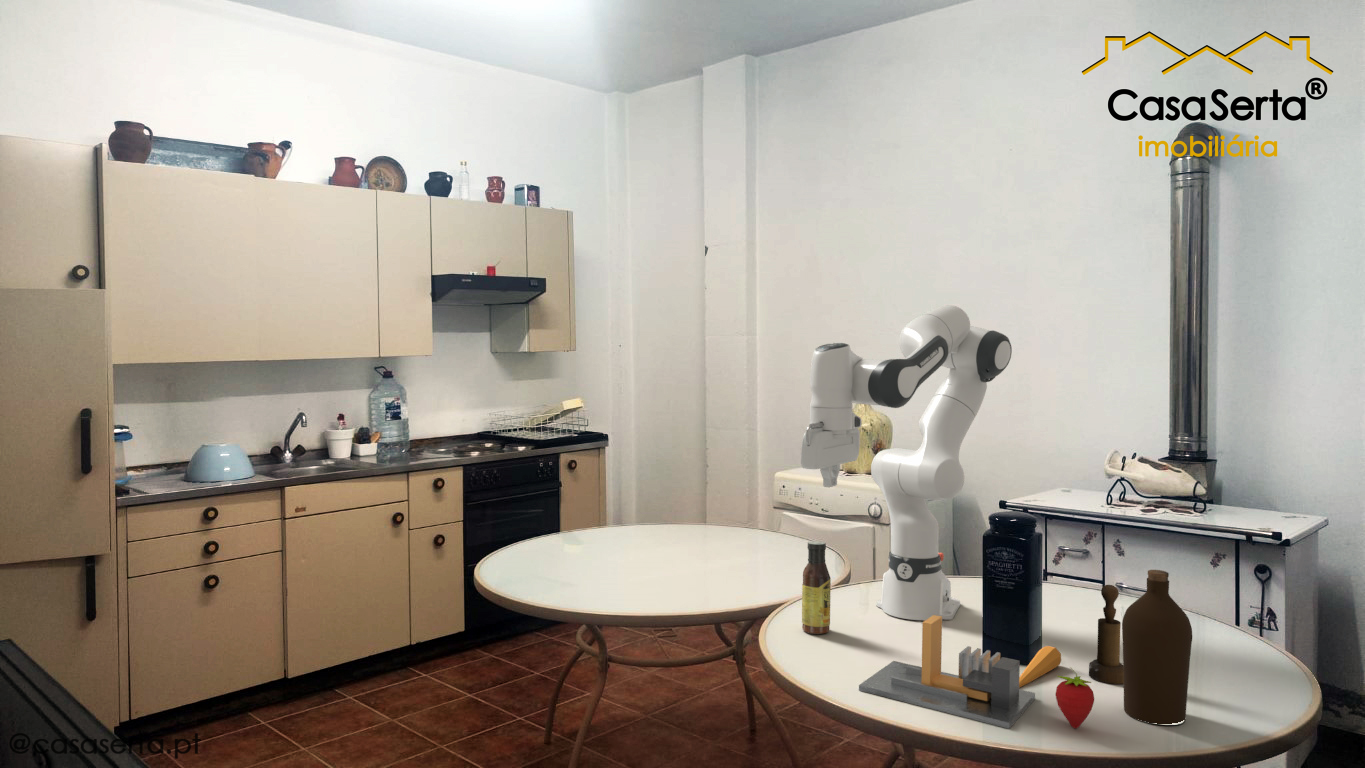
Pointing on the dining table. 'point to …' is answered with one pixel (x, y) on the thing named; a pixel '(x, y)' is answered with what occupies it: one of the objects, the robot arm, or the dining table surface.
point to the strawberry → (1074, 699)
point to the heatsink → (976, 674)
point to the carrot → (1040, 664)
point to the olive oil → (1156, 655)
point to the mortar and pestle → (1108, 643)
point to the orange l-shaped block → (933, 662)
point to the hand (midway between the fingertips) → (830, 486)
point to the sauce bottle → (816, 591)
